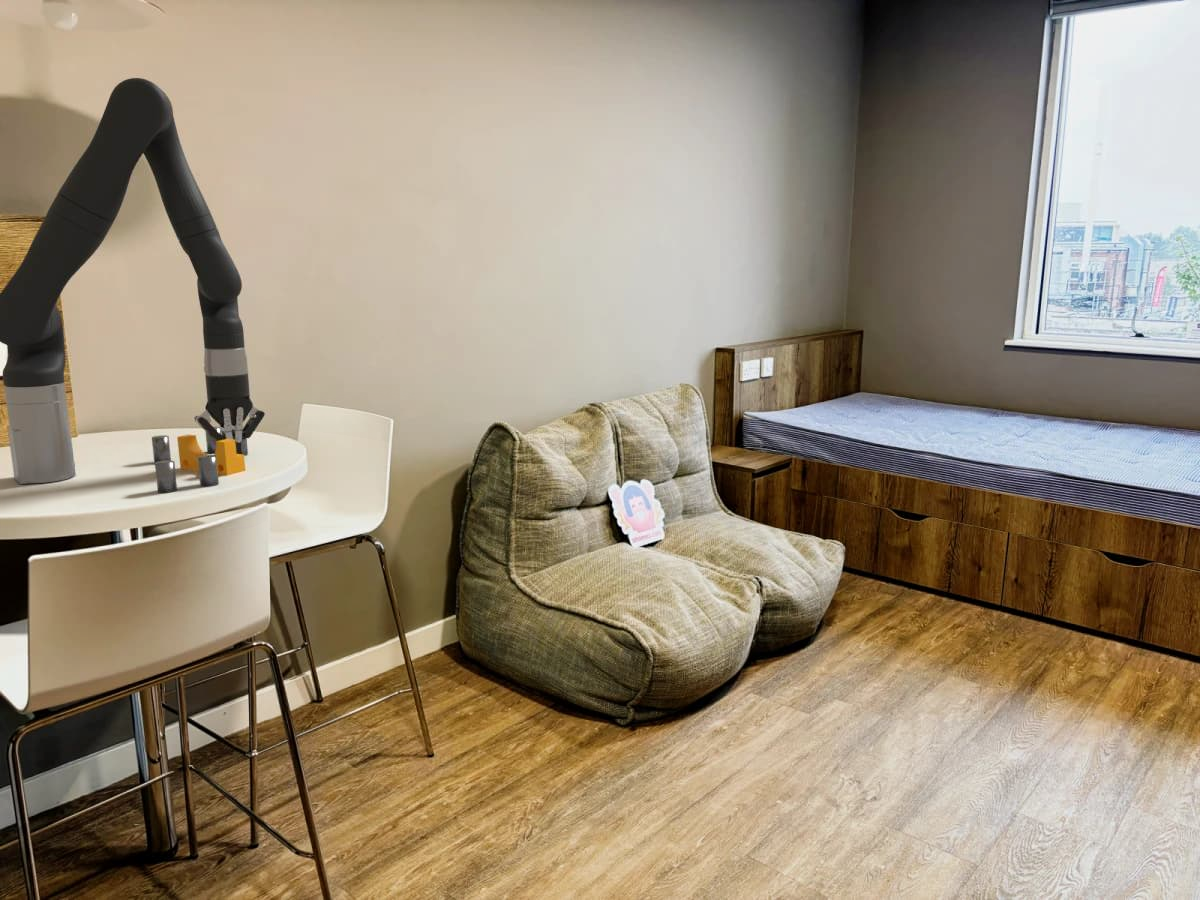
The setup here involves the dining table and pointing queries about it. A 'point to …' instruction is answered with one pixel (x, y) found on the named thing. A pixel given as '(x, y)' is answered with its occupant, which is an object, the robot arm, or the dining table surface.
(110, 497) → the dining table surface
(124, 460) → the dining table surface
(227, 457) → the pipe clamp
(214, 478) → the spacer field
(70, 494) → the dining table surface
